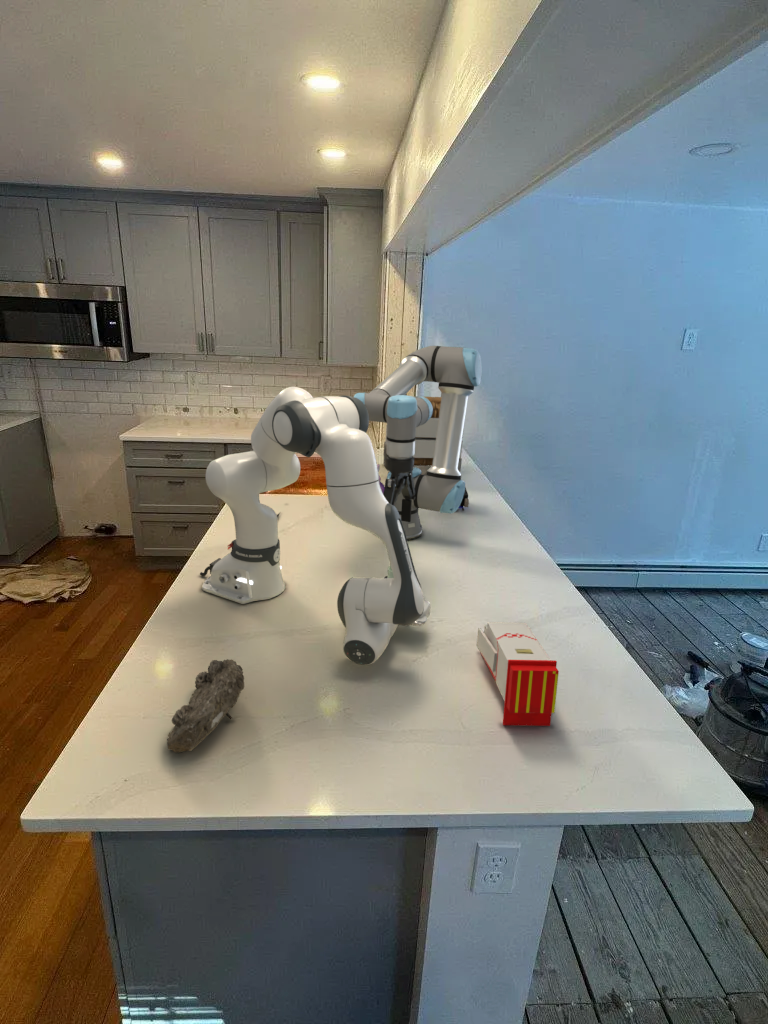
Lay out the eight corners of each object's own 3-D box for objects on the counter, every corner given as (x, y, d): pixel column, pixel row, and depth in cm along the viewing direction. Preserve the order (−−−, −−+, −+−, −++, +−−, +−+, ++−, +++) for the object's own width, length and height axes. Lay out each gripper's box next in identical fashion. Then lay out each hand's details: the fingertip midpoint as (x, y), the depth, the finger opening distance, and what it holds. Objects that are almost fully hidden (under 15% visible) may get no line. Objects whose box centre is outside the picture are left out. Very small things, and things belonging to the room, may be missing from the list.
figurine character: (468, 516, 224) (463, 500, 237) (471, 498, 221) (465, 483, 234) (452, 515, 224) (447, 499, 237) (453, 498, 220) (449, 482, 234)
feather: (287, 506, 225) (290, 502, 224) (270, 530, 198) (272, 526, 198) (283, 504, 225) (286, 500, 224) (265, 527, 198) (268, 523, 197)
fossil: (192, 660, 117) (244, 628, 112) (224, 691, 120) (276, 661, 115) (142, 746, 98) (202, 712, 93) (182, 779, 101) (242, 748, 96)
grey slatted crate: (382, 463, 289) (386, 382, 275) (445, 464, 293) (451, 384, 279) (390, 482, 257) (394, 392, 243) (460, 483, 261) (468, 394, 247)
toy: (524, 607, 134) (567, 667, 105) (519, 659, 137) (560, 732, 107) (473, 606, 133) (502, 666, 104) (469, 658, 136) (497, 731, 107)
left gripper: (424, 614, 130) (437, 587, 142) (341, 598, 135) (360, 574, 147) (423, 637, 132) (435, 609, 144) (340, 621, 137) (359, 595, 150)
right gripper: (404, 443, 162) (401, 512, 170) (367, 465, 140) (365, 543, 148) (429, 446, 159) (424, 516, 167) (395, 469, 138) (392, 549, 145)
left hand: (396, 591), depth 146 cm, fingers closed on jar, 5 cm apart
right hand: (397, 529), depth 158 cm, fingers open, 13 cm apart
